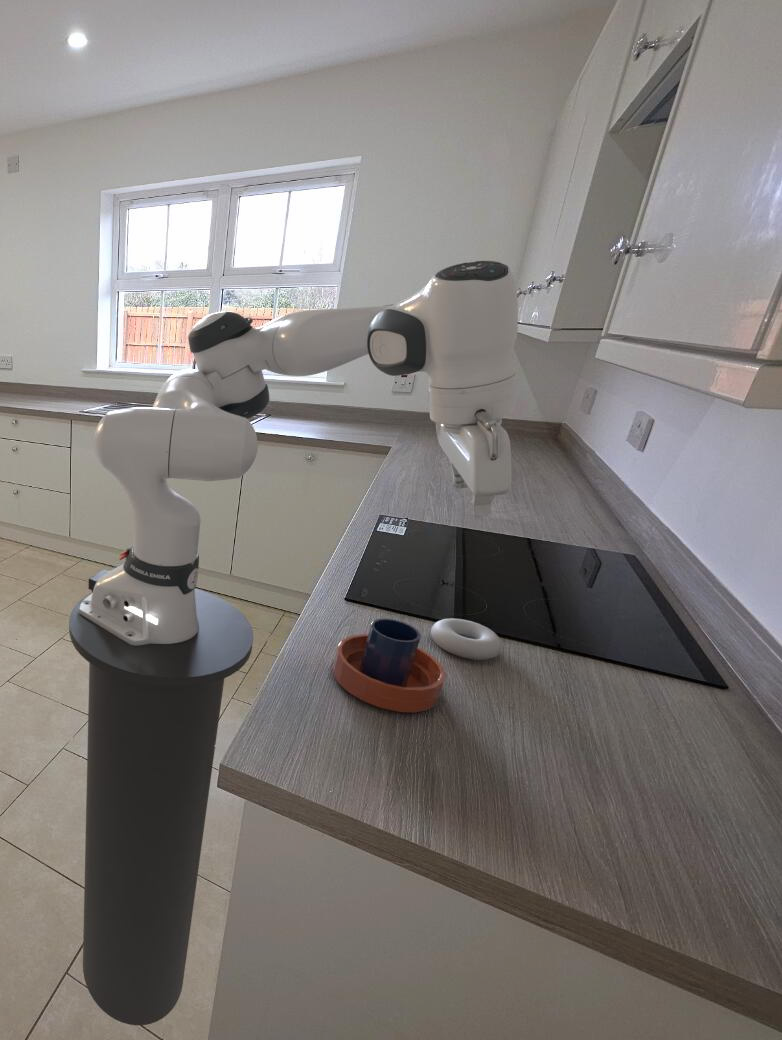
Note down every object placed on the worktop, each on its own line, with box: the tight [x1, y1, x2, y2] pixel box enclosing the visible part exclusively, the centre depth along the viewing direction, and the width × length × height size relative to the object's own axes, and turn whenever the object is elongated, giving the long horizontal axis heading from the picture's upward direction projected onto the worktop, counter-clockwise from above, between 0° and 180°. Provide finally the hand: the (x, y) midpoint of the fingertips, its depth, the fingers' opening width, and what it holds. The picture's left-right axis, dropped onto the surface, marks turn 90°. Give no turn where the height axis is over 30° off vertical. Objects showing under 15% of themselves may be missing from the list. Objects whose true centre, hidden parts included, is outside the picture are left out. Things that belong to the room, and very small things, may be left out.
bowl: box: [332, 633, 447, 713], centre depth 85 cm, size 14×14×4 cm
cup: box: [359, 618, 422, 687], centre depth 85 cm, size 6×6×9 cm
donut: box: [430, 617, 503, 661], centre depth 95 cm, size 10×4×10 cm
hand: (470, 499), depth 77 cm, fingers open, 8 cm apart
